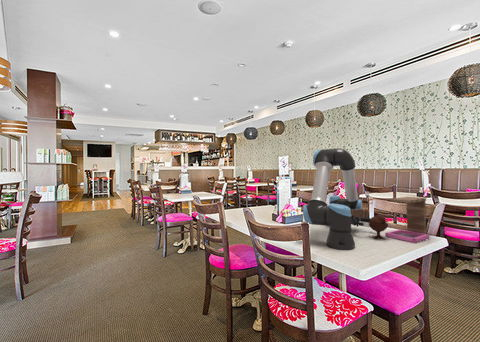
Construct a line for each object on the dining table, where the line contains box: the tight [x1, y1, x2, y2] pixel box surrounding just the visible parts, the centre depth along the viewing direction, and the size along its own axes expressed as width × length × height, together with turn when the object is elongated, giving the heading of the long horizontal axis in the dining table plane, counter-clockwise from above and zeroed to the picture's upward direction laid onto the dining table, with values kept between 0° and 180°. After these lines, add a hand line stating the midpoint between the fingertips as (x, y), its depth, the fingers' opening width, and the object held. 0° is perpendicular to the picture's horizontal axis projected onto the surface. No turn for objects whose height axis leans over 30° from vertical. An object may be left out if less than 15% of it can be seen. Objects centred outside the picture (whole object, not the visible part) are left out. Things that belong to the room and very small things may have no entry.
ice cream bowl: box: [367, 214, 389, 240], centre depth 151 cm, size 11×11×15 cm
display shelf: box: [390, 196, 427, 234], centre depth 151 cm, size 20×11×24 cm, turn 119°
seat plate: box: [384, 229, 431, 244], centre depth 151 cm, size 17×17×2 cm
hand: (375, 223), depth 154 cm, fingers open, 13 cm apart
